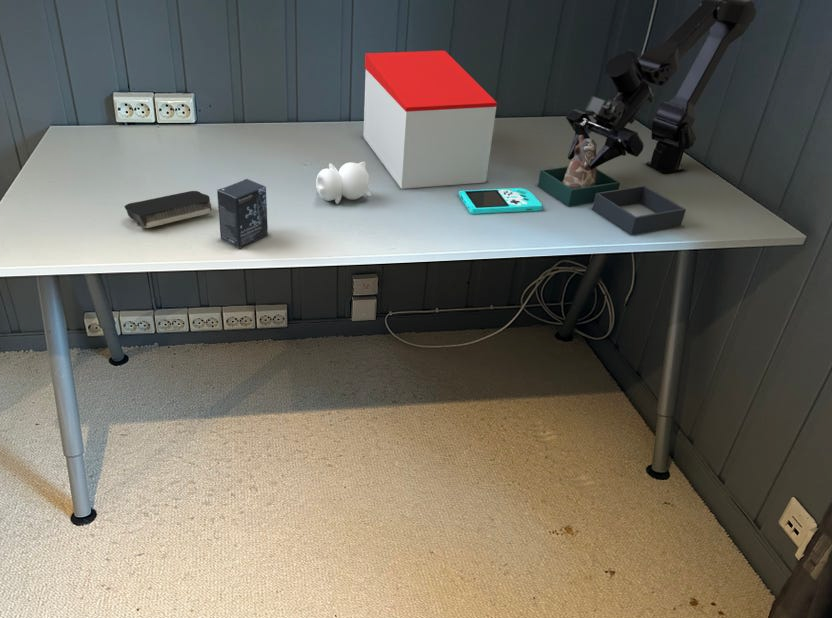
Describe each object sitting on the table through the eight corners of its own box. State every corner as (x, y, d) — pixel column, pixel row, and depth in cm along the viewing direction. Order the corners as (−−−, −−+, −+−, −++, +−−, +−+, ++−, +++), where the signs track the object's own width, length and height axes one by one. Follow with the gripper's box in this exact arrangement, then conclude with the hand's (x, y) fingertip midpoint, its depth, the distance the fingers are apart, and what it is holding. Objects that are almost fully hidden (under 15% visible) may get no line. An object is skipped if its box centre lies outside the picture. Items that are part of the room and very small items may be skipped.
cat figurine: (315, 161, 153) (370, 154, 155) (305, 171, 163) (357, 164, 166) (323, 203, 153) (377, 195, 156) (313, 211, 164) (363, 203, 167)
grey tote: (639, 201, 163) (644, 185, 161) (680, 225, 154) (686, 209, 151) (591, 209, 159) (595, 193, 157) (630, 235, 149) (635, 218, 147)
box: (239, 249, 141) (236, 197, 134) (220, 240, 143) (215, 189, 137) (269, 235, 145) (266, 185, 139) (249, 227, 148) (246, 177, 142)
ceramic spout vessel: (572, 198, 163) (582, 145, 156) (555, 185, 168) (565, 134, 161) (599, 194, 165) (611, 141, 158) (582, 182, 170) (593, 131, 163)
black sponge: (139, 234, 145) (137, 217, 142) (125, 218, 150) (122, 201, 148) (215, 216, 152) (214, 200, 150) (199, 201, 158) (197, 185, 156)
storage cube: (436, 131, 197) (444, 50, 185) (486, 182, 170) (498, 90, 158) (362, 136, 193) (365, 53, 181) (400, 188, 166) (406, 95, 153)
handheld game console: (542, 210, 158) (543, 205, 157) (471, 214, 156) (472, 208, 155) (526, 192, 166) (527, 186, 165) (458, 195, 164) (458, 189, 163)
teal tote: (584, 178, 173) (587, 163, 171) (616, 198, 164) (620, 182, 162) (537, 185, 169) (540, 170, 167) (568, 206, 160) (571, 190, 158)
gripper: (580, 71, 161) (534, 129, 162) (648, 94, 148) (598, 156, 150) (597, 102, 169) (554, 157, 170) (663, 126, 156) (616, 185, 158)
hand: (579, 163), depth 162 cm, fingers closed on ceramic spout vessel, 6 cm apart
